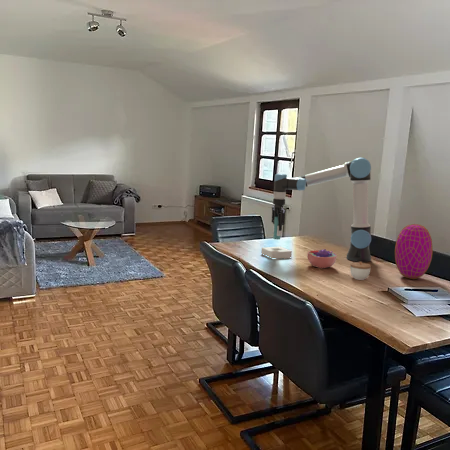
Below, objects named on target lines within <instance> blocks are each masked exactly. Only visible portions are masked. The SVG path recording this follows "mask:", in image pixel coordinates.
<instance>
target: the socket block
mask: <svg viewBox="0 0 450 450" xmlns="http://www.w3.org/2000/svg"><path fill="white" fill-rule="evenodd" d="M261 253H262V254H264V255H267V256H269V257H271V258H284V259H291V258H292V253H293V251H292V250H290V249H287V248H285V247H282V246H269V247H261ZM262 254H261V255H262ZM264 255H263V256H264ZM290 257H291V258H290Z"/></svg>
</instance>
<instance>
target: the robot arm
mask: <svg viewBox="0 0 450 450" xmlns="http://www.w3.org/2000/svg"><path fill="white" fill-rule="evenodd" d="M371 173H372V165H371V162H370V161H369V160H368V159H367V158H365V157H357V158H354V159H352V160H350V161H347V162H345V163H344V164H342V165H338V166H335V167H330V168H327V169H322V170H319V171H316V172H311V173H308V174H303V175H300V176H296V177H288V176H287V175H288V174H286V173H276V174H275V175H274V181H273V201H272V205H273V206H272V207H271V223H272V224H273V227H272V228H273V229H272V231H273V232H272V235H274V220H275V217H278V226H277V236H280V237H281V236H282V230H283V229H282V228H283V226H284V225H285V219H286V211H287V210H286V209H284V206H285V205H286V197H287V195H286V194H287V191H286V190H290V191H291V190H292V191H299V192H300V191H305V190H306V188H307V187H310V186H315V185H319V184H323V183H326V182H331V181H335V180H338V179H342V178H343V179H344V178H346V177H347V178H350V182H351V183H352V207H353V208H352V209H353V210H352V212H353V214H352V216H353V218H352V219H353V223H352V224H351V225H350V245H349V248H348V252H347V253H346V257H345V258H346V259H347V260H349V261H352V262H360V261H361V262H362V263H367V262H371V260H372V256H371V251H370V245H371V242H372V225H371V224H370V223H369V190H368V189H369V182H371V177H372V176H371Z"/></svg>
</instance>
